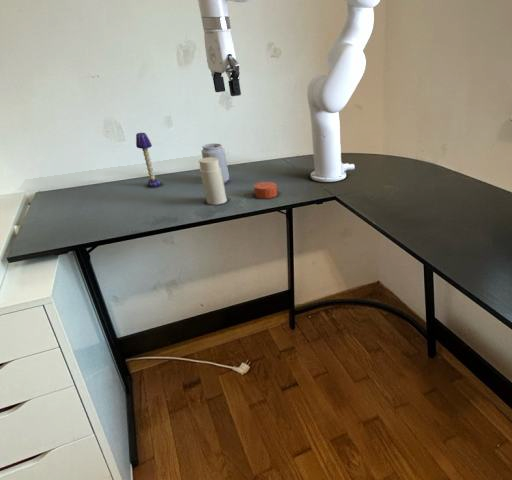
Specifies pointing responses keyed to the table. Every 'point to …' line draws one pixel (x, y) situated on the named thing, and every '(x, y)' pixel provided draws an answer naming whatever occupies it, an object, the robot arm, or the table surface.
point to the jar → (212, 181)
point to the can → (219, 153)
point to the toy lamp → (147, 157)
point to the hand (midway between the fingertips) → (228, 93)
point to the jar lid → (265, 190)
